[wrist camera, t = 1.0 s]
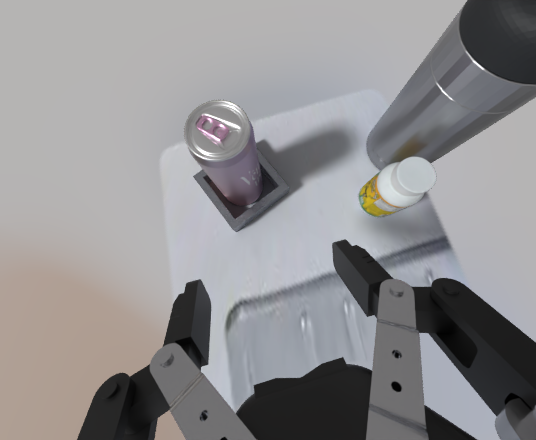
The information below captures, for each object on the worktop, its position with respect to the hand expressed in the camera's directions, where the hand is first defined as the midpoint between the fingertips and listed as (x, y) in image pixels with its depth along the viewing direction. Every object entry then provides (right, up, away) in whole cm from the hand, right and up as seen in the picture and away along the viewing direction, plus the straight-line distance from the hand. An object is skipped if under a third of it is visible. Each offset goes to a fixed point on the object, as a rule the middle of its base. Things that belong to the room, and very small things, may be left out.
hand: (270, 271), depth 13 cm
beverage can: (-4, +8, +20) cm, 22 cm away
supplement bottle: (+16, +6, +19) cm, 25 cm away
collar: (-4, +8, +20) cm, 22 cm away
